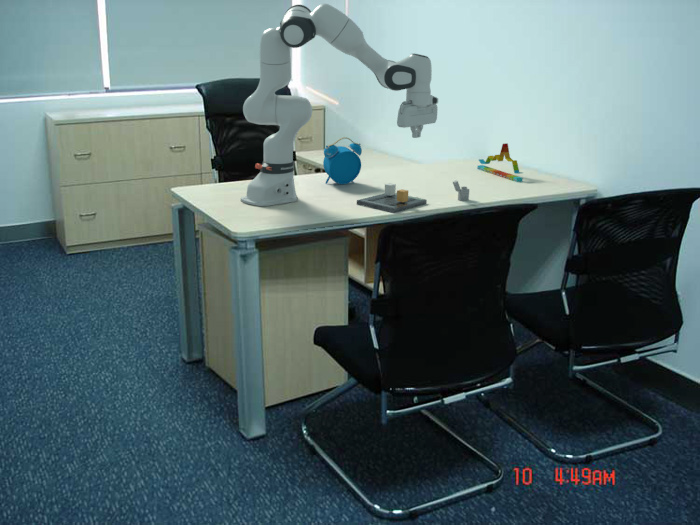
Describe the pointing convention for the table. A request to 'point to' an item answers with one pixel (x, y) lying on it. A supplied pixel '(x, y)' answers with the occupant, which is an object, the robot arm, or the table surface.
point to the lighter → (461, 191)
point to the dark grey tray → (390, 202)
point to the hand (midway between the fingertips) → (416, 137)
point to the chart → (500, 158)
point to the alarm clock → (342, 162)
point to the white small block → (390, 189)
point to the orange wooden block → (402, 195)
